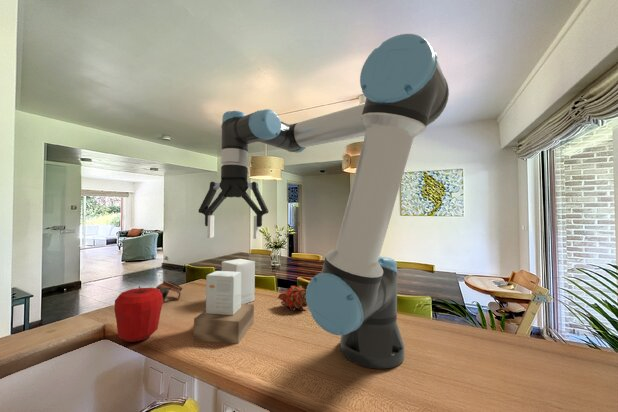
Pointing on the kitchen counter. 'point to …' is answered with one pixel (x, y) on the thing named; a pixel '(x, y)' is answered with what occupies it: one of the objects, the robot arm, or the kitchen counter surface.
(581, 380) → the kitchen counter surface
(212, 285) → the small box
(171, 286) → the brown grey ring
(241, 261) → the supplement box
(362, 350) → the robot arm
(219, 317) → the walnut block
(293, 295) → the dragon fruit
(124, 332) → the apple
